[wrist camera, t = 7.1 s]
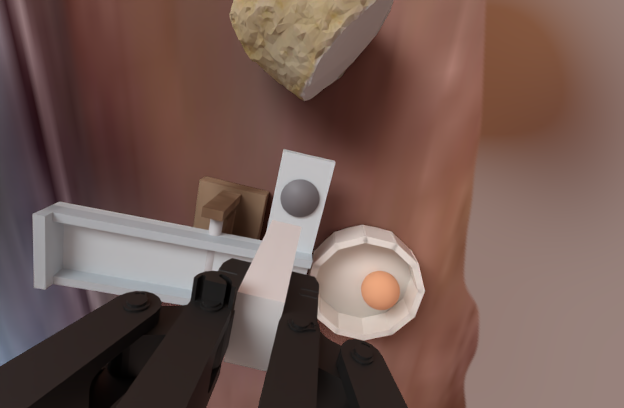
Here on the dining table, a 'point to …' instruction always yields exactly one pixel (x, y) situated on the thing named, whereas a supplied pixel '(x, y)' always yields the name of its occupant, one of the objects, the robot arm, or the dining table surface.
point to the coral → (307, 37)
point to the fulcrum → (230, 207)
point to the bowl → (350, 274)
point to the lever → (168, 240)
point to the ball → (380, 290)
